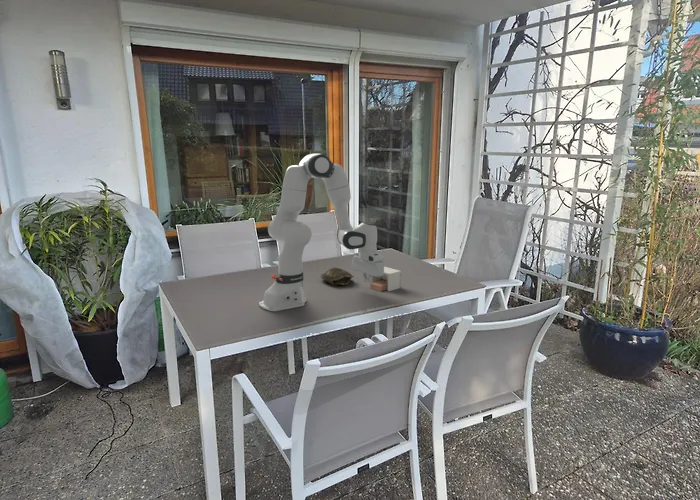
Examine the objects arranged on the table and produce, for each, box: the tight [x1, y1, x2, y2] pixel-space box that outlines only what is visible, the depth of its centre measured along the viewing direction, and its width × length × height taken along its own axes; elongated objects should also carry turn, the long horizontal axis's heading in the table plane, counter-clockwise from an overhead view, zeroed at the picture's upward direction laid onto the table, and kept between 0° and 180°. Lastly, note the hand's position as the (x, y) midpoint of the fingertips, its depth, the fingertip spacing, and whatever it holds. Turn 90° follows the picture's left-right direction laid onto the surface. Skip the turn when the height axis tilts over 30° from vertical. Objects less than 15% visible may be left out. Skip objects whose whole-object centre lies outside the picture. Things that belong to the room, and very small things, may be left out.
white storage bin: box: [369, 266, 402, 292], centre depth 231 cm, size 8×14×9 cm, turn 42°
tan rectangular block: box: [370, 280, 388, 292], centre depth 230 cm, size 9×6×3 cm
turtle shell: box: [320, 267, 355, 286], centre depth 241 cm, size 16×9×20 cm
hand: (366, 281), depth 221 cm, fingers closed
